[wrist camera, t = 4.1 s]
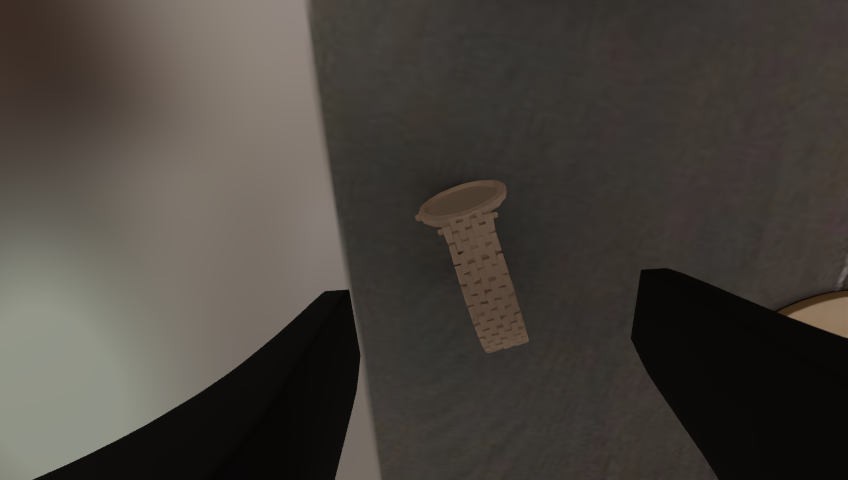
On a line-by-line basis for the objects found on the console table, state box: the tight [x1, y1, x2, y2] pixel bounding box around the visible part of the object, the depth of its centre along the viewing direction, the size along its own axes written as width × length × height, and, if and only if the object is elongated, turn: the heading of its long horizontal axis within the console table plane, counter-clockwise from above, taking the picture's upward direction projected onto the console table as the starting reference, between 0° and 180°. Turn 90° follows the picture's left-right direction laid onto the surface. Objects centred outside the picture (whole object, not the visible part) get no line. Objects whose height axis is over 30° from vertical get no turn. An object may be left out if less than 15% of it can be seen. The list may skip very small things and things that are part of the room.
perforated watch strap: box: [415, 180, 529, 353], centre depth 13 cm, size 3×5×5 cm, turn 19°
